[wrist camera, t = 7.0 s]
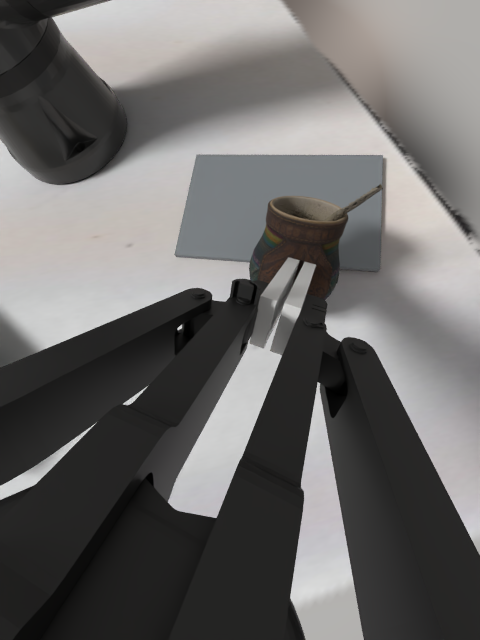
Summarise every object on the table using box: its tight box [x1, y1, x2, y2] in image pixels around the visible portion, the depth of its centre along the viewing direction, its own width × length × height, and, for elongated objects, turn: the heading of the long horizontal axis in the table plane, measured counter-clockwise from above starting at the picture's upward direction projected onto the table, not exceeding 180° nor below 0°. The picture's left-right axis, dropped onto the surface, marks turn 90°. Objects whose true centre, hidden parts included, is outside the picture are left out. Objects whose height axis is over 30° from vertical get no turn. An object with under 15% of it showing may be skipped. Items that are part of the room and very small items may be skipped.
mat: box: [175, 155, 383, 272], centre depth 26 cm, size 13×20×1 cm, turn 82°
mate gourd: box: [249, 184, 383, 313], centre depth 19 cm, size 7×8×10 cm
